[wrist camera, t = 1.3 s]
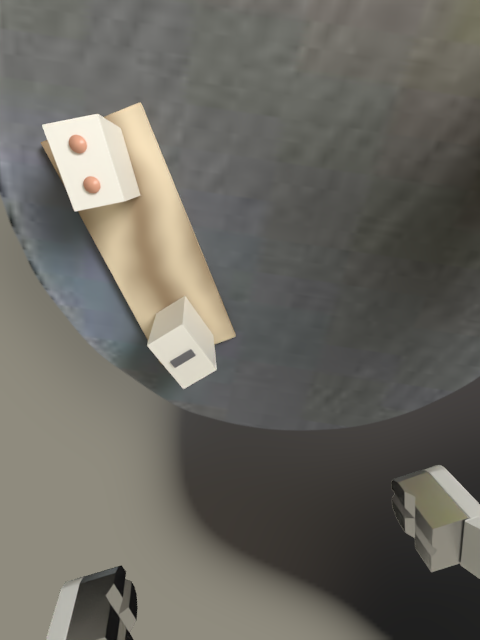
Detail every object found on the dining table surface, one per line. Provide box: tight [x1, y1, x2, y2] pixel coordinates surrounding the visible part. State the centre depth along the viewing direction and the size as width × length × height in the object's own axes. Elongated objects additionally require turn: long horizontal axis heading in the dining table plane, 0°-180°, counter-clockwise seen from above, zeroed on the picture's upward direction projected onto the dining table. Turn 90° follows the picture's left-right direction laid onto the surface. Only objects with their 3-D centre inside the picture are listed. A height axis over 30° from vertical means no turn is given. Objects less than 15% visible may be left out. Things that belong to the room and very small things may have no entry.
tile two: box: [42, 114, 141, 212], centre depth 29 cm, size 4×6×8 cm
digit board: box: [41, 103, 236, 364], centre depth 37 cm, size 10×26×1 cm, turn 20°
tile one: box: [147, 296, 217, 389], centre depth 36 cm, size 4×6×8 cm
